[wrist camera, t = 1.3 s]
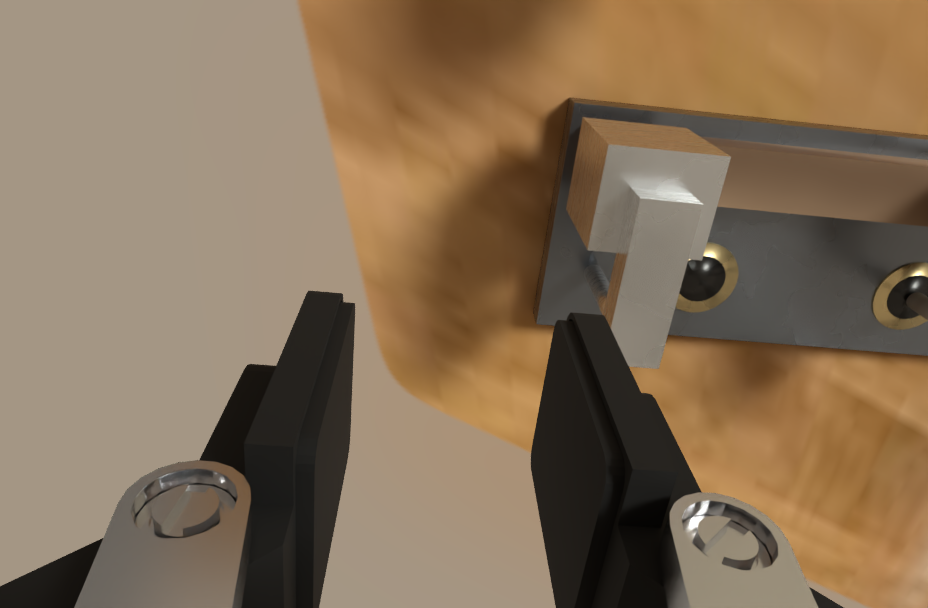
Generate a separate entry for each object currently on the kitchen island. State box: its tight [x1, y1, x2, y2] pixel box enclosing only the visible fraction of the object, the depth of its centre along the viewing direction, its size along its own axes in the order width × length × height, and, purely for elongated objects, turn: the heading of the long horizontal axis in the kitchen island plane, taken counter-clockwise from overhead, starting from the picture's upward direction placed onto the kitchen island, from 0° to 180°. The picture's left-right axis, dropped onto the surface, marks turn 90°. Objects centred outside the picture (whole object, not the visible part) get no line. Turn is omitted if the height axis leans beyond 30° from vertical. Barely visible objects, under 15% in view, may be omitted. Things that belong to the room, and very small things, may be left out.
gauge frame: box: [700, 136, 928, 320], centre depth 26 cm, size 7×21×8 cm, turn 84°
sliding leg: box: [566, 117, 731, 369], centre depth 25 cm, size 7×4×7 cm, turn 174°
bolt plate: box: [533, 98, 928, 356], centre depth 30 cm, size 10×22×1 cm, turn 84°
